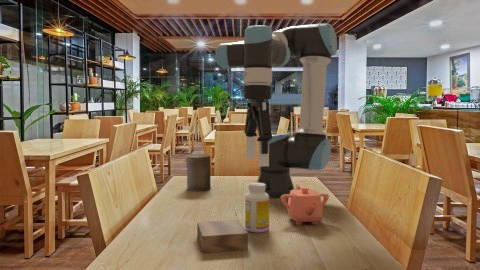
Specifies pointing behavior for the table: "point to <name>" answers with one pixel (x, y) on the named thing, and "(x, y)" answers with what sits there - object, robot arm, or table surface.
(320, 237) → the table surface
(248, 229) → the supplement bottle
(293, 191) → the teapot
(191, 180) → the pillar candle
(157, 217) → the table surface
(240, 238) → the block
